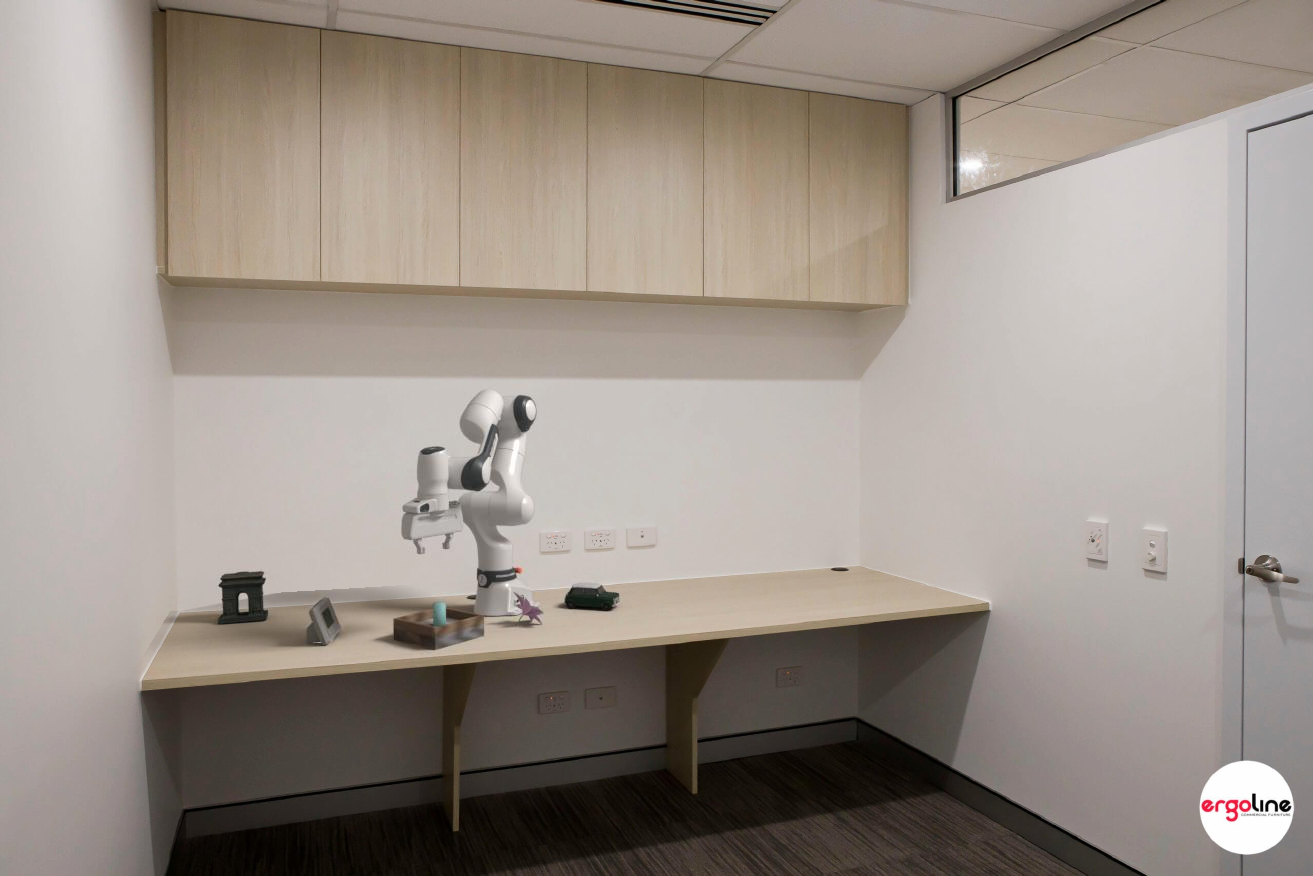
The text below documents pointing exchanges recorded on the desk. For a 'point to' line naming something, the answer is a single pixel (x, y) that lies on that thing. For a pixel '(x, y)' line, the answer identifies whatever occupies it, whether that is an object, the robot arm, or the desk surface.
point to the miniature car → (591, 596)
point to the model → (233, 588)
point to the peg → (439, 613)
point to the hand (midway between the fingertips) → (433, 551)
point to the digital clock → (322, 623)
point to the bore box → (438, 628)
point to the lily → (528, 609)
